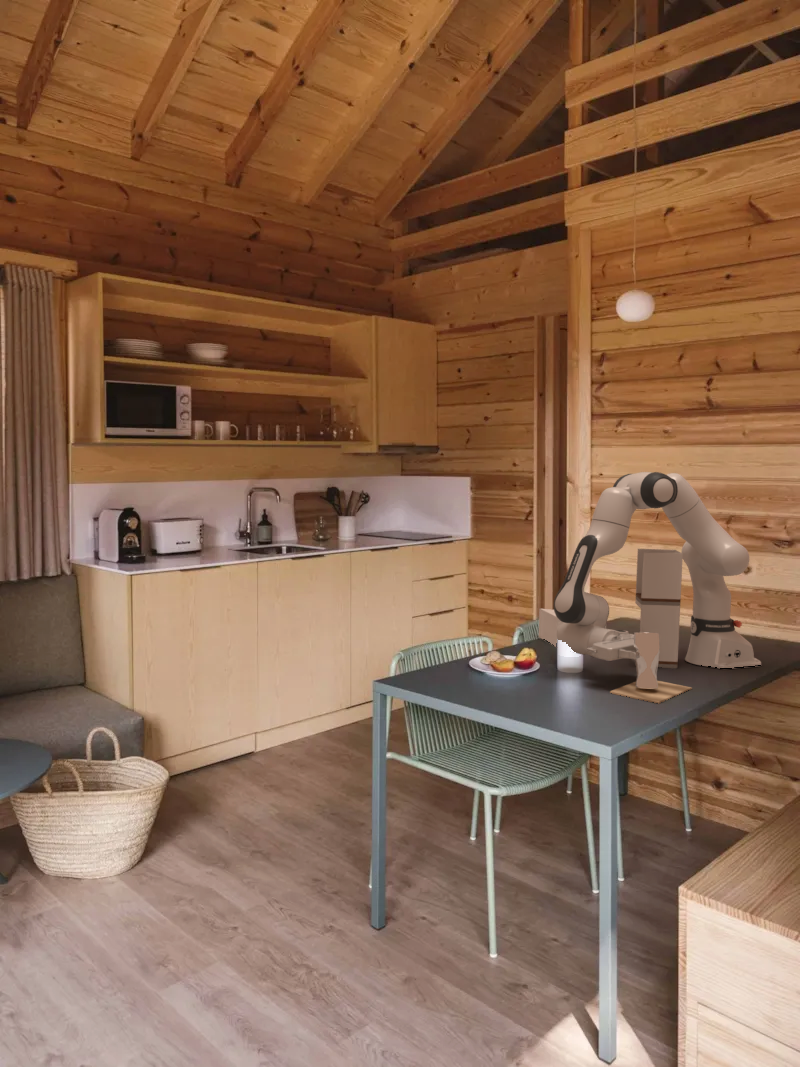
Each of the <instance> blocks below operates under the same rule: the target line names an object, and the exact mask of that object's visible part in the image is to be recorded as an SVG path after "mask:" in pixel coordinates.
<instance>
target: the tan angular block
mask: <svg viewBox="0 0 800 1067" xmlns="http://www.w3.org/2000/svg"><path fill="white" fill-rule="evenodd" d="M538 618H539V619H538V638H539V639H541V640H543V639H545V640H547V641H548V642H550V643H551V644H550V643H549V644H550V645H552V644H553V645H554V646H553V645H552V646H553V647H555V648H557V647H556V643H557V629H558V627H559V625H560V624H562V623H563V622H562V621H560V620H559V619H558V618H557V616H556V614H555V612H554V609H551V608H550V609H549V608H539V617H538ZM605 629H607V625H606V626H605ZM545 640H544V641H545ZM548 642H547V643H548Z"/></svg>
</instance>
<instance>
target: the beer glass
mask: <svg viewBox="0 0 800 1067" xmlns="http://www.w3.org/2000/svg"><path fill="white" fill-rule="evenodd" d="M633 633H634V646H633V649H634V652H637V653H638V658H636V659H635V661H634V665H635V668H636V669H635V672H636V680H635V682H636V684H635V688H641V689H658V683H657V681H658V677H657V675H658V662H659V656H660V639H659V633H643V632H640V631H639V632H638V631H637V632H635V631H634V632H633Z"/></svg>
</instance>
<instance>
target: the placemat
mask: <svg viewBox="0 0 800 1067" xmlns="http://www.w3.org/2000/svg"><path fill="white" fill-rule="evenodd" d="M657 683H658V689H641V688H635V684H636V681H633V682H631V683H628V684H626V685H622V686H620V687H618V688H615V689H613V690H610V691H609V694H611V693H612V694H611V695H616V696H620V695H621V696H622V697H625V698H629V697H630V699H634V700H638V699H639V701H643V700H644V701H645V702H647V701H648V703H652V702H654V703H653V704H656V703H658V704H657V705H660V704H662V703H664V702H666V701H669V700H671V699H673V698H675V697H678V696H680V695H682V694H684V692H685V693H687V692H689V691H691V690H693V687H691V686H686V685H681V684H678V683H677V684H676V683H671V682H666V681H662V680H657ZM688 690H689V691H688ZM686 691H687V692H686ZM681 693H682V694H681ZM679 694H680V695H679ZM677 695H678V696H677ZM626 696H627V697H626ZM674 696H675V697H674ZM672 697H673V698H672ZM670 698H671V699H670ZM668 699H669V700H668ZM665 700H666V701H665ZM644 701H643V702H644ZM661 702H662V703H661Z"/></svg>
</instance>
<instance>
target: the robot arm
mask: <svg viewBox="0 0 800 1067" xmlns="http://www.w3.org/2000/svg"><path fill="white" fill-rule="evenodd" d="M650 509H661V510H663V512H664V514H665V516H666V517H667V519H668V520H669V522H670V523H671V526H672V527H673V528H674V529H675V531H676V532H677V534H678V536H679V537H680V538H681V539H683V540H684V541H685V542H684V543H683V546H682V547H681V553H683V560H682V561H683V562H684V563H685V565H686V567H687V569H688V572H689V576H690V579H691V585H692V593H693V596H692V599H693V600H692V615H691V617H690V626H689V628H690V639H689V645H688V649H687V653H686V655H685V657H684V660H685V661H686V662H688V663H690V664H693V665H697V666H701V665H702V667H708V666H711V667H710V668H715V667H717V668H716V669H720V668H732V669H735V668H734V667H743V666H755V665H761V666H762V661H761V660H760V659H758V658H756V657H755V656H754V655H755V654H754V649H753V648H754V647H753V644H752V643H751V642H750V641H748V640H747V639H746V638H745V637H744V636H742V635H741V634H740V633H739V632H738V631H737V630H736V628H742V626H743V622H742V621H740V620H738V619H737V620H734V619H733V618H731V607H732V606H731V605H732V592H731V591H730V589H729V587H728V586H727V585H726V581H725V578H724V577H732V576H739V575H741V574H742V573H744V572H745V571H746V570H747V568H748V567H749V564H750V554H749V551H748V549H747V548H746V547H745V546H743V545H742V544H741V543H739V542H738V541H736V540H735V539H734V538H733V537H732V535H730V534H729V532H727V531H726V529H724V528H723V526H721V525H720V524H719V523H718V521H717V520H716V519H715V518H714V517H713V516H712V514H711V513H710V511H709V510H708V509H707V507H706V505H705V503H704V502H703V501H702V499H701V498H700V496H699V494H698V493H697V491H696V490H695V488H693V486H692V485H691V484H690V482H689V481H687V479H686V478H685V477H684V476H683V475H682V474H680V473H678V472H677V473H676V472H671V473H667V474H665V473H662V472H657V471H655V472H651V471H641V472H636V473H627V474H624V475H621V476H620V477H619V478H618V479H616V481H615V482H614V484H613V486H612V487H607V488H606V489H604V490H602V491H601V494H600V496H599V498H598V500H597V503H596V505H595V508H594V511H593V514H592V518H591V522H590V524H589V528H588V530H587V532H586V534H585V536H583V537H582V538H581V539H580V541H579V543H578V544H577V546H576V548H575V551H574V553H573V556H572V559H571V562H570V564H569V568H568V569H567V573H566V574H565V578H564V581H563V583H562V585H561V587H560V588H559V590H558V592H557V593H556V595H555V597H554V600H553V610H554V612H555V614H556V616H557V618H558V619H559V620H560V621H562V622H563V623H562V624H560V625H559V627H558V629H557V639H558V640H562V642H566V644H568V646H569V647H571V649H572V650H573V651H574V652H576V654H578V655H581V656H585V655H588V656H589V657H592V658H595V659H599V660H603V661H608V662H611V661H617V660H621V659H631V660H634V659H636V658H638V653H637V652H634V649H633V646H634V634H633V633H629V631H628V630H623V629H617V630H616V629H611V628H610V629H609V628H606V629H605V626H606V627H607V622H608V619H609V616H610V606H609V603H608V601H607V600H606V599H605V597H603V596H601V595H597V594H595V593H589V592H586V591H585V587H586V584H587V582H588V578H589V576H590V573H591V570H592V568H593V565H594V564H595V562H596V561H597V560H599V559H600V558H602V557H605V556H608V555H609V556H610V555H612V554H615V553H617V552H619V551H620V550H622V548H623V547H624V546H625V543H626V541H627V537H628V535H629V531H630V526H631V521H632V517H633V514H634V513H635V512H636V510H650ZM735 627H736V628H735ZM574 652H573V653H574ZM755 667H756V666H755Z"/></svg>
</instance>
